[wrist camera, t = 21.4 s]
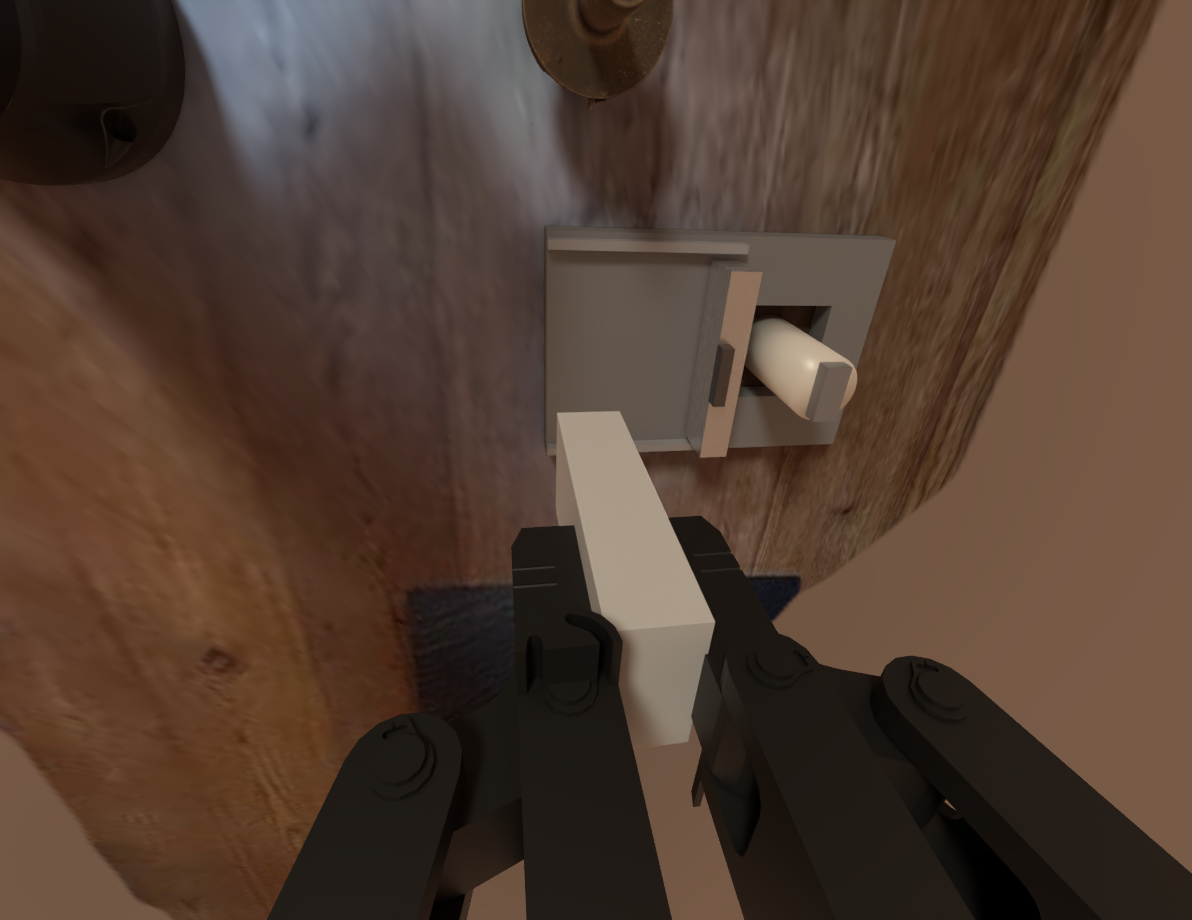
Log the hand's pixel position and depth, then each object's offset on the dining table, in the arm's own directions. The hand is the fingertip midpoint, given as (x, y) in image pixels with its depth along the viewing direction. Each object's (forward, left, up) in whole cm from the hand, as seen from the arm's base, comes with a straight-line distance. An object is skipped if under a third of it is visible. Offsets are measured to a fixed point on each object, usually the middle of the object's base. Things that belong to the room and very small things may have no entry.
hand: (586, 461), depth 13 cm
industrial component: (+3, +12, -27) cm, 29 cm away
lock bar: (+13, -6, -24) cm, 28 cm away
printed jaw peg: (+18, -6, -26) cm, 32 cm away
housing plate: (+13, -6, -26) cm, 30 cm away
